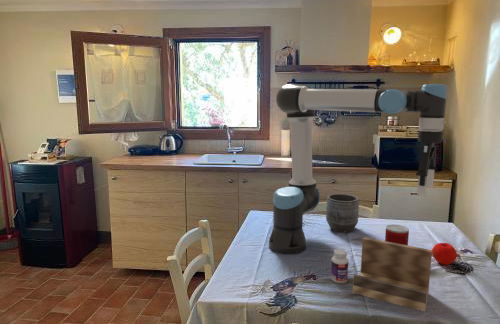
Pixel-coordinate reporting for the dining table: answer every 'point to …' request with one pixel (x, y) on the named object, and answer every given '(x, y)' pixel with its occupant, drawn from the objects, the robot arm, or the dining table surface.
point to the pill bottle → (339, 266)
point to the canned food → (397, 234)
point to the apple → (444, 253)
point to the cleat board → (394, 273)
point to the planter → (342, 212)
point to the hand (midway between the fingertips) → (425, 190)
